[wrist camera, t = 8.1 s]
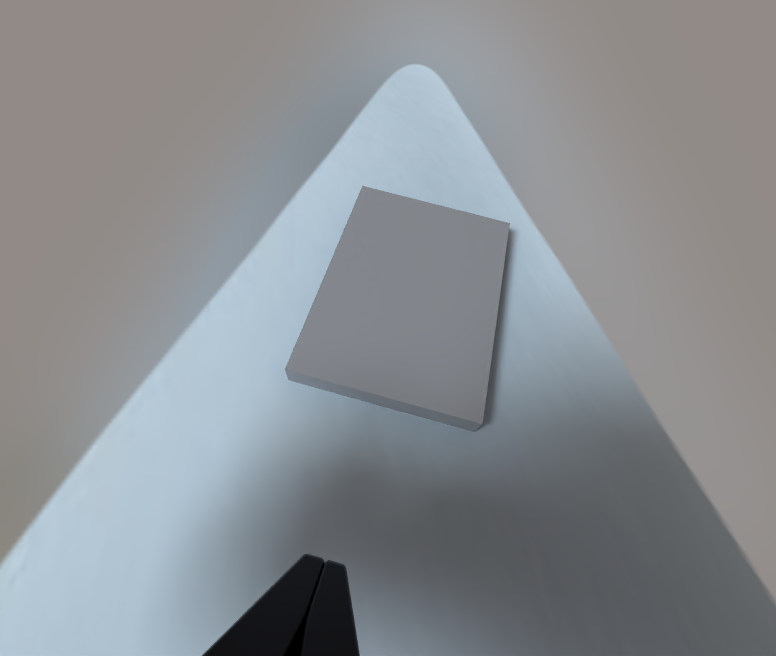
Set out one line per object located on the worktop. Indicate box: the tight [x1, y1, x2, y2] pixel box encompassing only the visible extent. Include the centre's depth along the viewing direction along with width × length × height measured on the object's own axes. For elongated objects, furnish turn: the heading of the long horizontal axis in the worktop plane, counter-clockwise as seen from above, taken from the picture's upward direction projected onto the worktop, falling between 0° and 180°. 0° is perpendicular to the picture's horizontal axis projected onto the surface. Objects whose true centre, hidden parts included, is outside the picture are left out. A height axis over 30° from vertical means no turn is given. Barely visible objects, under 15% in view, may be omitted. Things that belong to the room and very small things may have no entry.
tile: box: [285, 186, 510, 432], centre depth 19 cm, size 2×8×11 cm
